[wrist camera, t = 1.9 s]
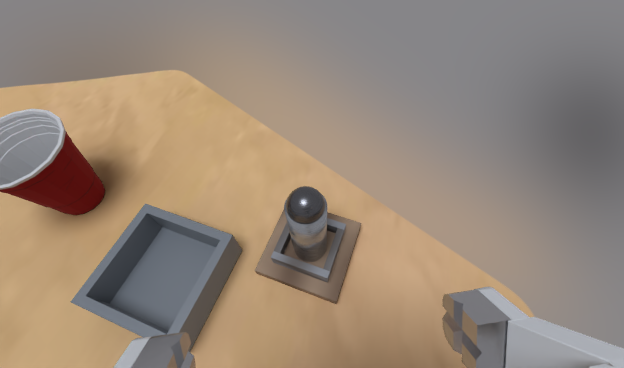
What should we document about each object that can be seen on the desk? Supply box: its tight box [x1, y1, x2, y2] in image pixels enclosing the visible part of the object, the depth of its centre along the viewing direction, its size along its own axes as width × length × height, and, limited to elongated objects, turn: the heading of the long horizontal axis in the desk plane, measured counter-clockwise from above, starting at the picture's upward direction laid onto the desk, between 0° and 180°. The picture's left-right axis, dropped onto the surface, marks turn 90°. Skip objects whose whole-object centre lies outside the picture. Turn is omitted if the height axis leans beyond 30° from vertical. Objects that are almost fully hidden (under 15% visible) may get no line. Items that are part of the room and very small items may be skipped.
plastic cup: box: [0, 109, 105, 215], centre depth 37 cm, size 11×11×12 cm
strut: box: [284, 186, 327, 262], centre depth 31 cm, size 4×4×12 cm
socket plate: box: [255, 210, 361, 304], centre depth 36 cm, size 10×10×3 cm
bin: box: [71, 204, 242, 352], centre depth 34 cm, size 12×12×5 cm
